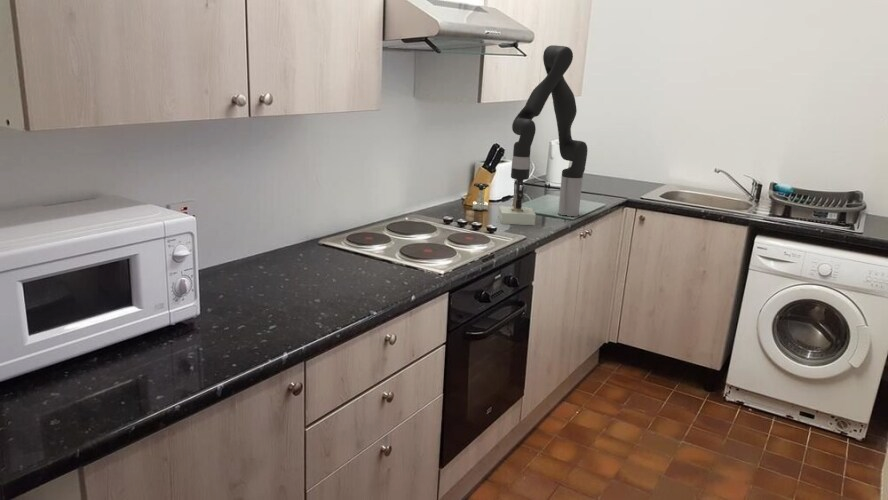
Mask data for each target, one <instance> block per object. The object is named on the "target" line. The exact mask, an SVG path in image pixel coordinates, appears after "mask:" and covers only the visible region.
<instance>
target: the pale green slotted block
mask: <svg viewBox="0 0 888 500" xmlns="http://www.w3.org/2000/svg"><path fill="white" fill-rule="evenodd" d="M536 215H537V214H536V213H535V211H534V209H533V207H523V206H522V210H521V212H517V211H513V206H504V205H503V206H502V205H500V206H499V213H498V217H499V221H500V224H502V225H521V226H522V225H523V226H535V225H536V217H537V216H536Z"/></svg>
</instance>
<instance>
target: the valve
mask: <svg viewBox="0 0 888 500" xmlns="http://www.w3.org/2000/svg"><path fill="white" fill-rule="evenodd" d="M473 187H475V188H478V197H477V198H476V200H477V201H472V211H488V208H489V207H488V206H489V203H488V201H487V202H486V201H485V198H484V197H483V195H484V192H483V191H484V190H485V189H487V188H489V187H490V184H488V183H482V182H480V183H477V182H476V183H473Z"/></svg>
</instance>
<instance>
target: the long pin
mask: <svg viewBox="0 0 888 500" xmlns="http://www.w3.org/2000/svg"><path fill="white" fill-rule="evenodd" d="M512 207H513V211H517V212H521V210H522V207H523V201H522V202H521V209H516V197H515V196H514V197H513V206H512Z"/></svg>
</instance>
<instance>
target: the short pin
mask: <svg viewBox="0 0 888 500" xmlns="http://www.w3.org/2000/svg"><path fill="white" fill-rule="evenodd" d="M474 221H475V210H469V209H468V210H465V222H470V223H471V222H472V223H473V222H474Z"/></svg>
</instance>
